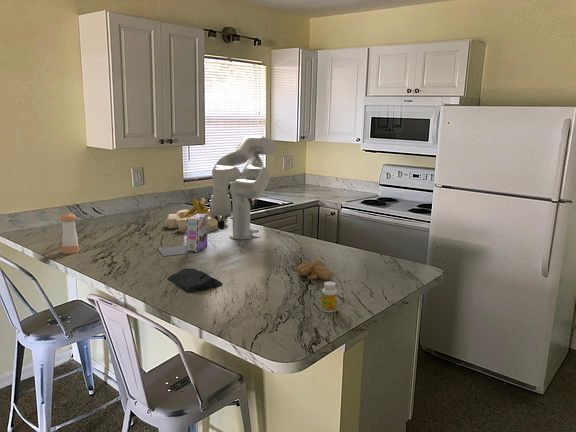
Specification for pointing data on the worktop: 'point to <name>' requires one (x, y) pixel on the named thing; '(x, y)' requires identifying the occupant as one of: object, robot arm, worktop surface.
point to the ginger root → (314, 270)
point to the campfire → (182, 215)
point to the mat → (174, 251)
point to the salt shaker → (69, 234)
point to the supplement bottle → (329, 297)
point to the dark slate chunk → (193, 280)
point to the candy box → (197, 232)
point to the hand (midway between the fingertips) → (221, 228)
